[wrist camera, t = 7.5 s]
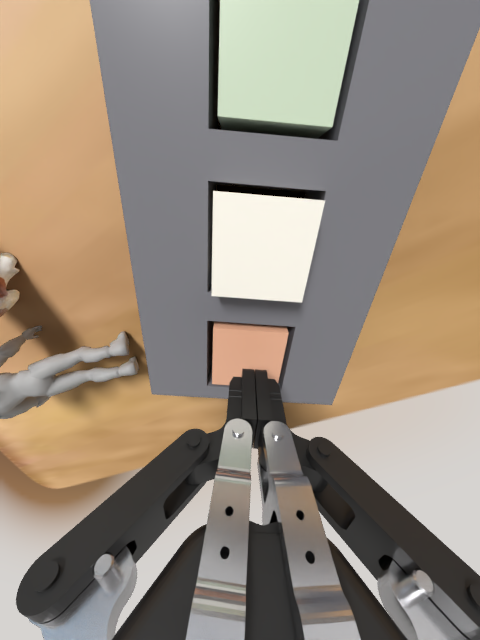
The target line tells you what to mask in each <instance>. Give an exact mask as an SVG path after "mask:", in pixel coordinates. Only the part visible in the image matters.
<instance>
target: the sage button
mask: <svg viewBox="0 0 480 640" xmlns="http://www.w3.org/2000/svg"><path fill="white" fill-rule="evenodd" d="M358 4H359V0H220V29H219V77H218V119H219V122H220V125H221V129H222V130H228V131H239V132H249V133H260V134H270V135H281V136H291V137H302V138H313V139H317V138H319V137H320V136H321V135H323V134H324V133H325V132H327V131H328V130H329V129H331V128H332V127H333V122H334V117H335V112H336V108H337V103H338V98H339V93H340V89H341V84H342V79H343V75H344V70H345V65H346V60H347V56H348V51H349V46H350V42H351V37H352V32H353V27H354V23H355V18H356V13H357V9H358Z"/></svg>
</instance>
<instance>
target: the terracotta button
mask: <svg viewBox="0 0 480 640" xmlns="http://www.w3.org/2000/svg"><path fill="white" fill-rule="evenodd" d="M288 334H289V333H288V330H287V327H286V326H276V325H261V324H247V323H232V322H218V321H215V322H214V327H213V361H212V384H218V385H229V383H230V381H231V380H232V378H233V376H234V377H242V368H243V369H254V370H255V369H258V370H267V376H268V379H275V380H276V382H277V383H278V381H279V377H280V372H281V367H282V363H283V358H284V353H285V348H286V344H287V339H288Z"/></svg>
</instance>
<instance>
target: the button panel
mask: <svg viewBox="0 0 480 640" xmlns="http://www.w3.org/2000/svg"><path fill="white" fill-rule="evenodd" d="M90 5H91V11H92V18H93V24H94V30H95V37H96V43H97V49H98V56H99V62H100V68H101V75H102V81H103V87H104V94H105V100H106V106H107V113H108V119H109V125H110V132H111V138H112V144H113V151H114V157H115V164H116V170H117V176H118V183H119V189H120V195H121V202H122V208H123V214H124V221H125V227H126V233H127V240H128V246H129V252H130V259H131V265H132V271H133V278H134V284H135V290H136V297H137V303H138V309H139V316H140V322H141V328H142V335H143V341H144V347H145V354H146V360H147V366H148V373H149V379H150V385H151V392H152V394H157V395H173V396H190V397H207V398H224V399H228V396H229V385H218V384H212V361H213V325H214V321H218V322H232V323H247V324H261V325H276V326H286V327H287V330H288V333H289V334H288V339H287V344H286V348H285V353H284V358H283V363H282V367H281V372H280V377H279V381H278V384H279V386H280V392H281V397H282V402H291V403H307V404H324V405H332V403H333V401H334V398H335V396H336V393H337V390H338V388H339V385H340V383H341V380H342V378H343V375H344V373H345V370H346V367H347V365H348V362H349V360H350V357H351V355H352V352H353V350H354V347H355V344H356V342H357V339H358V337H359V334H360V332H361V329H362V327H363V324H364V322H365V319H366V316H367V314H368V311H369V309H370V306H371V304H372V301H373V299H374V296H375V293H376V291H377V288H378V286H379V283H380V281H381V278H382V276H383V273H384V270H385V268H386V265H387V263H388V260H389V258H390V255H391V253H392V250H393V248H394V245H395V242H396V240H397V237H398V235H399V232H400V230H401V227H402V225H403V222H404V219H405V217H406V214H407V212H408V209H409V207H410V204H411V202H412V199H413V196H414V194H415V191H416V189H417V186H418V184H419V181H420V179H421V176H422V174H423V171H424V168H425V166H426V163H427V161H428V158H429V156H430V153H431V151H432V148H433V145H434V143H435V140H436V138H437V135H438V133H439V130H440V128H441V125H442V122H443V120H444V117H445V115H446V112H447V110H448V107H449V105H450V102H451V99H452V97H453V94H454V92H455V89H456V87H457V84H458V82H459V79H460V77H461V74H462V71H463V69H464V66H465V64H466V61H467V59H468V56H469V54H470V51H471V48H472V46H473V43H474V41H475V38H476V36H477V33H478V31H479V28H480V0H359V4H358V9H357V13H356V18H355V23H354V27H353V32H352V37H351V42H350V46H349V51H348V56H347V60H346V65H345V70H344V75H343V79H342V84H341V89H340V93H339V98H338V103H337V108H336V112H335V117H334V122H333V127H332V128H331V129H329V130H328V131H327V132H325V133H324V134H323V135H321V136H320V137H319V138H317V139H313V138H302V137H291V136H281V135H270V134H260V133H249V132H239V131H228V130H218V77H219V29H220V0H90ZM217 185H228V186H240V187H251V188H263V189H274V190H285V191H297V192H305V198H304V199H314V200H325V204H324V209H323V213H322V217H321V222H320V226H319V230H318V235H317V239H316V244H315V248H314V252H313V257H312V261H311V266H310V270H309V274H308V279H307V283H306V287H305V292H304V296H303V301H302V303H301V302H287V301H273V300H260V299H246V298H232V297H218V296H211V295H212V230H213V191H216V187H217Z"/></svg>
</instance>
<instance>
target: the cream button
mask: <svg viewBox="0 0 480 640" xmlns="http://www.w3.org/2000/svg"><path fill="white" fill-rule="evenodd" d="M324 204H325V200H314V199H302V198H291V197H279V196H267V195H256V194H244V193H233V192H221V191H213V230H212V295H211V296H218V297H232V298H246V299H260V300H273V301H287V302H301V303H302V301H303V296H304V292H305V287H306V283H307V279H308V274H309V270H310V266H311V261H312V257H313V252H314V248H315V244H316V239H317V235H318V230H319V226H320V222H321V217H322V213H323V209H324Z"/></svg>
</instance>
